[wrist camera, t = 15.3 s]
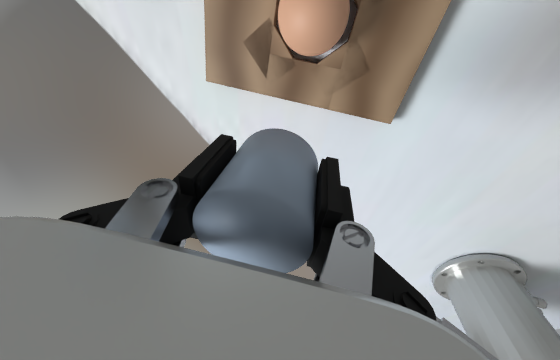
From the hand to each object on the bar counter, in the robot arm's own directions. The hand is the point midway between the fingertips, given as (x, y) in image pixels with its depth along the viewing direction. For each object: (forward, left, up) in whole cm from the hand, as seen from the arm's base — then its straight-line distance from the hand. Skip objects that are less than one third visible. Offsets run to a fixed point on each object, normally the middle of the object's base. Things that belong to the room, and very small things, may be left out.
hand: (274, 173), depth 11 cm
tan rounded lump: (+1, -7, -18) cm, 19 cm away
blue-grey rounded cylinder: (0, 0, -1) cm, 1 cm away
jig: (+1, -7, -18) cm, 19 cm away
